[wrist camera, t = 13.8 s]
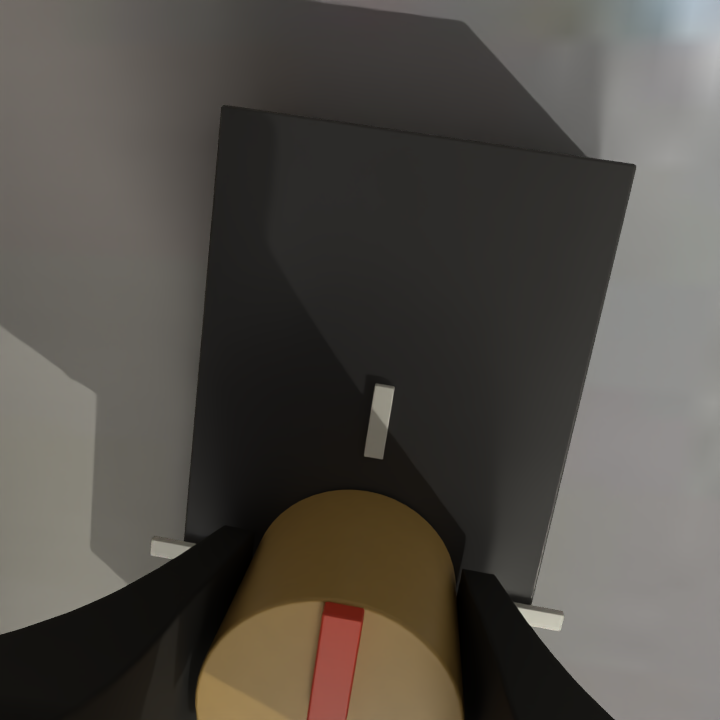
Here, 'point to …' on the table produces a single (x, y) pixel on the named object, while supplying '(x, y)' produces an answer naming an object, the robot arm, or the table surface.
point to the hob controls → (398, 331)
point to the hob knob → (340, 620)
